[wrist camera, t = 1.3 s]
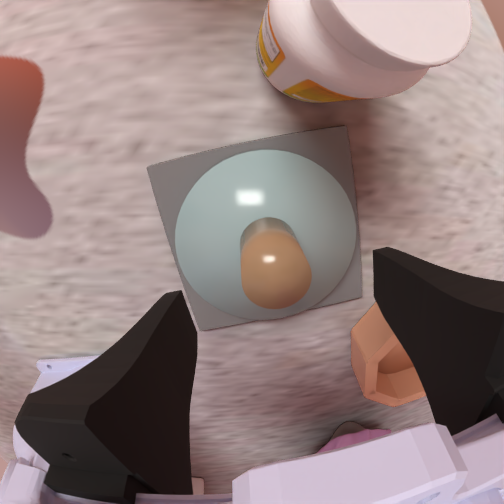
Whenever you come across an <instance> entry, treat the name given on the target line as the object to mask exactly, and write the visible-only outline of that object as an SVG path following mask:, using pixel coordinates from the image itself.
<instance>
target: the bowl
mask: <svg viewBox="0 0 504 504" xmlns="http://www.w3.org/2000/svg"><path fill="white" fill-rule="evenodd" d="M351 366H352V368H353V370H354V373H355V375H356V378H357V380H358V383H359V385H360V387H361V390H362V392H363V395H364V397H365V398H367V399H370V400H373V401H376V402H379V403H382V404H385V405H388V406H391V407H394V406H395V407H396V406H399V405H402V404H405V403H408V402H411V401H413V400H416V399H419V398H421V397H424V396H426V393H425V391H424V388H423V386H422V383H421V381H420V379H419V376H418V374H417V372H416V370H415V367H414V365H413V363H412V362H411V360H410V358H409V356H408V355H407V353H406V351H405V350H404V348H403V347H402V345H401V343H400V342H399V340H398V339H397V337H396V336H395V334H394V333H393V331H392V329H391V328H390V326H389V325H388V323H387V322H386V320H385V318H384V317H383V315H382V313H381V311H380V309H379V307H378V304H377V302H375V304H374V305H373V306H372V307H371V308H370V309H369V310H368V312H367V313H366V314H365V315H364V316H363V317H362V318H361V319H360V321H359V322H358V323H357V324H356V325H355V326H354V327H353V328H352V331H351Z"/></svg>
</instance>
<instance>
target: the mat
mask: <svg viewBox="0 0 504 504" xmlns="http://www.w3.org/2000/svg"><path fill="white" fill-rule="evenodd" d="M257 149H277V150H285V151H289V152H292V153H296V154H299V155H301V156H303V157H306V158H308V159H310V160H311V161H313V162H315V163H316V164H318V165H319V166H321V167H322V168H324V169H325V170H326V171H327V172H329V173H330V174H331V175H332V176H333V177H334V178H335V179H336V180H337V182H338V183H339V184H340V185H341V187H342V188H343V190H344V191H345V193H346V194H347V196H348V199H349V201H350V203H351V205H352V209H353V212H354V216H355V222H356V242H355V249H354V253H353V256H352V259H351V262H350V264H349V267H348V269H347V271H346V272H345V274H344V276H343V278H342V279H341V280H340V282H339V283H338V284H337V286H336V287H335V288H334V289H333V290H332V291H331V292H330V293H329V294H328V295H327V296H326V297H325V298H323V299H322V300H321V301H319V302H318V303H316V304H315V305H314V306H312V307H310V308H308V309H306V310H309V309H314V308H318V307H323V306H327V305H331V304H335V303H339V302H344V301H348V300H352V299H356V298H360V297H362V279H361V257H360V241H359V227H358V215H357V204H356V194H355V184H354V176H353V167H352V159H351V152H350V145H349V138H348V131H347V126H337V127H330V128H323V129H316V130H310V131H303V132H297V133H291V134H285V135H280V136H274V137H269V138H264V139H259V140H254V141H249V142H244V143H239V144H235V145H230V146H225V147H221V148H217V149H212V150H208V151H204V152H200V153H196V154H192V155H188V156H184V157H180V158H176V159H173V160H169V161H165V162H162V163H158V164H155V165H151V166H148V167H147V171H148V174H149V178H150V182H151V185H152V189H153V192H154V195H155V199H156V202H157V206H158V209H159V212H160V216H161V219H162V222H163V225H164V228H165V232H166V235H167V238H168V241H169V244H170V247H171V250H172V253H173V256H174V259H175V262H176V265H177V268H178V271H179V274H180V277H181V280H182V283H183V286H184V289H185V292H186V294H187V297H188V300H189V303H190V306H191V308H192V311H193V314H194V317H195V319H196V322H197V325H198V327H199V330H200V331H203V330H209V329H214V328H220V327H226V326H231V325H236V324H242V323H247V322H252V321H257V320H254V319H246V318H241V317H237V316H234V315H231V314H228V313H226V312H223V311H221V310H219V309H217V308H216V307H214V306H212V305H211V304H209V303H208V302H207V301H205V300H204V299H203V298H202V297H201V296H200V295H199V294H198V293H197V292H196V291H195V290H194V289H193V288H192V286H191V285H190V284H189V282H188V281H187V279H186V277H185V276H184V274H183V272H182V269H181V267H180V265H179V262H178V258H177V254H176V246H175V229H176V224H177V218H178V215H179V212H180V209H181V207H182V205H183V203H184V201H185V199H186V197H187V195H188V193H189V191H190V190H191V189H192V187H193V186H194V184H195V183H196V182H197V181H198V180H199V178H200V177H201V176H202V175H203V174H204V173H205V172H207V171H208V170H209V169H210V168H211V167H213V166H214V165H216V164H217V163H219V162H221V161H222V160H224V159H226V158H228V157H231V156H233V155H235V154H238V153H242V152H246V151H250V150H257ZM304 311H305V310H304Z"/></svg>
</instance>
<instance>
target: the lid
mask: <svg viewBox="0 0 504 504" xmlns="http://www.w3.org/2000/svg"><path fill="white" fill-rule="evenodd" d="M355 242H356V222H355V216H354V212H353V209H352V205H351V203H350V201H349V199H348V196H347V194H346V193H345V191H344V190H343V188H342V187H341V185H340V184H339V183H338V182H337V180H336V179H335V178H334V177H333V176H332V175H331V174H330V173H329V172H327V171H326V170H325V169H324V168H322V167H321V166H319V165H318V164H316V163H315V162H313V161H311V160H310V159H308V158H306V157H303V156H301V155H299V154H296V153H292V152H289V151H285V150H277V149H257V150H250V151H246V152H242V153H238V154H235V155H233V156H231V157H228V158H226V159H224V160H222V161H221V162H219V163H217V164H216V165H214V166H213V167H211V168H210V169H209V170H208V171H207V172H205V173H204V174H203V175H202V176H201V177H200V178H199V180H198V181H197V182H196V183H195V184H194V186H193V187H192V189H191V190H190V191H189V193H188V195H187V197H186V199H185V201H184V203H183V205H182V207H181V209H180V212H179V215H178V218H177V224H176V229H175V246H176V254H177V258H178V262H179V265H180V267H181V269H182V272H183V274H184V276H185V277H186V279H187V281H188V282H189V284H190V285H191V286H192V288H193V289H194V290H195V291H196V292H197V293H198V294H199V295H200V296H201V297H202V298H203V299H204V300H205V301H207V302H208V303H209V304H211V305H212V306H214V307H216V308H217V309H219V310H221V311H223V312H226V313H228V314H231V315H234V316H237V317H241V318H246V319H254V320H272V319H279V318H284V317H288V316H291V315H294V314H297V313H300V312H302V311H304V310H306V309H308V308H310V307H312V306H314V305H315V304H316V303H318V302H319V301H321V300H322V299H323V298H325V297H326V296H327V295H328V294H329V293H330V292H331V291H332V290H333V289H334V288H335V287H336V286H337V284H338V283H339V282H340V280H341V279H342V278H343V276H344V274H345V272H346V271H347V269H348V267H349V264H350V262H351V259H352V256H353V253H354V249H355Z"/></svg>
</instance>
